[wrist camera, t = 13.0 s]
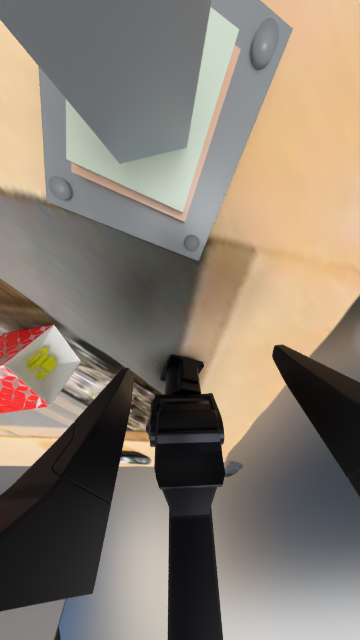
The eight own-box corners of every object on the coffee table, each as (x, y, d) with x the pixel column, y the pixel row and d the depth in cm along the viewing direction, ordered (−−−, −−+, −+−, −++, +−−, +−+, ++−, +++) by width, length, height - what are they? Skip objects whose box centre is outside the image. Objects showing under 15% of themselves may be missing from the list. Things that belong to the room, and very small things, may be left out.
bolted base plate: (197, 260, 19) (203, 267, 15) (52, 202, 15) (17, 195, 12) (285, 40, 11) (335, -43, 8) (35, -168, 8) (-74, -482, 4)
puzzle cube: (81, 361, 27) (50, 406, 20) (39, 368, 27) (-5, 414, 20) (53, 323, 23) (2, 364, 16) (5, 332, 23) (-65, 375, 16)
